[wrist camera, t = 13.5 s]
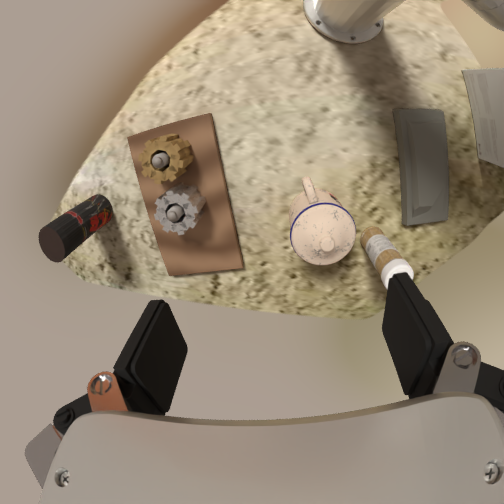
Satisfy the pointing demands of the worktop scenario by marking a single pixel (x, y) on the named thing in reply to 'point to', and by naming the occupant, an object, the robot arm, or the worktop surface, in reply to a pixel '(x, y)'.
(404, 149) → the soap mold
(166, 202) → the silver gear
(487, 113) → the supplement box
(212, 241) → the gear board
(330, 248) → the teacup with lid
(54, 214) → the worktop surface
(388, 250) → the sprinkles bottle
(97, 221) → the deodorant
